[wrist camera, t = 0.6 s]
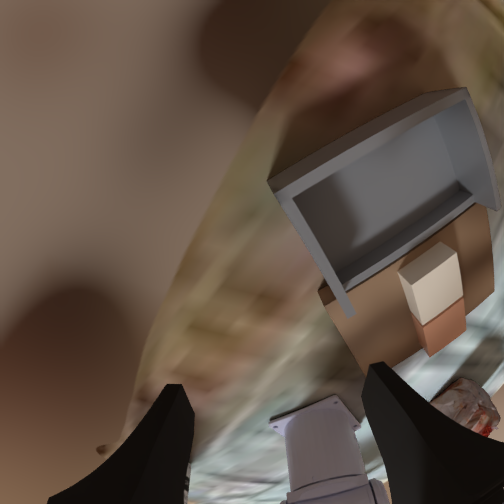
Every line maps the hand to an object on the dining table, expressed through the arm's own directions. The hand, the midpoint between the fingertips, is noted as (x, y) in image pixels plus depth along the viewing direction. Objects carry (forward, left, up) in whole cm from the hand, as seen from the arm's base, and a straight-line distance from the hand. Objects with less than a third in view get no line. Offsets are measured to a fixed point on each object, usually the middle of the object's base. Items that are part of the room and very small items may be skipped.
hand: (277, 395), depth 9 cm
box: (+1, -10, -10) cm, 14 cm away
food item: (-33, -13, -10) cm, 37 cm away
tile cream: (-6, -10, -8) cm, 14 cm away
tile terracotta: (-10, -10, -8) cm, 16 cm away
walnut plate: (-8, -10, -10) cm, 16 cm away
